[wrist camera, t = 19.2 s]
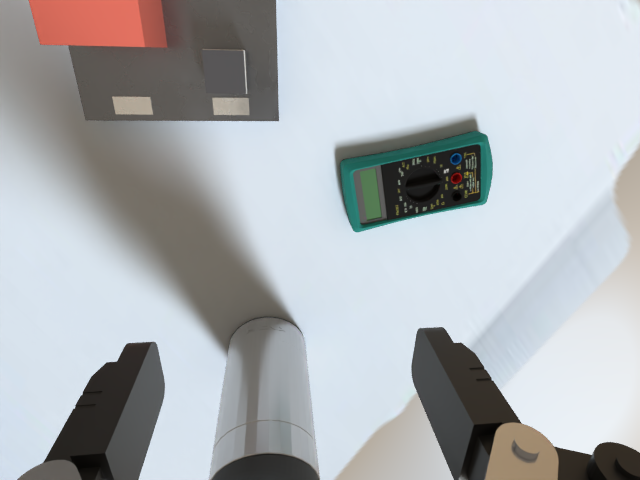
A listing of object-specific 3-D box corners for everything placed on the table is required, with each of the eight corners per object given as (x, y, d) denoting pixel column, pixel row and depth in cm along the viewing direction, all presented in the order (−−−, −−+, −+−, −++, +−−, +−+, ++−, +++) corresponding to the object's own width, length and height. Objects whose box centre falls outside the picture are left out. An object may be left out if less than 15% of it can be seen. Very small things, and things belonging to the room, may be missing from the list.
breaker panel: (278, 117, 36) (278, 122, 34) (95, 116, 34) (82, 121, 32) (273, -89, 29) (273, -101, 27) (47, -102, 28) (26, -117, 25)
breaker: (248, 91, 33) (246, 94, 30) (211, 90, 32) (205, 94, 30) (246, 50, 31) (243, 49, 29) (207, 49, 31) (200, 48, 28)
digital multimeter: (481, 195, 42) (495, 205, 40) (347, 224, 42) (352, 236, 39) (481, 127, 39) (496, 133, 36) (336, 159, 39) (341, 166, 36)
